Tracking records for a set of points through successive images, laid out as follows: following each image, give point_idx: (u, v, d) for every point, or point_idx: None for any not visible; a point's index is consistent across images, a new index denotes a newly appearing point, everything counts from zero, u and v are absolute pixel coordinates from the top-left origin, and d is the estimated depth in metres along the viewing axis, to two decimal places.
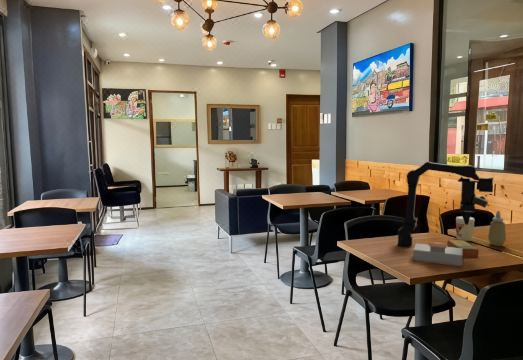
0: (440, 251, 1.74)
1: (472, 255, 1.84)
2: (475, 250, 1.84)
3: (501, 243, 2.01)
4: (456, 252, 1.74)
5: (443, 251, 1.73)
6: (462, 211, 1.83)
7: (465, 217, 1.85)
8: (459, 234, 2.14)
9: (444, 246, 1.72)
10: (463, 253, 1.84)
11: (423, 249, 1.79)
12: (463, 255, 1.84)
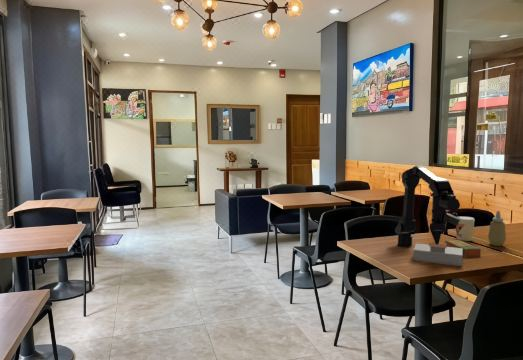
0: (440, 251, 1.74)
1: (475, 255, 1.84)
2: (477, 250, 1.84)
3: (501, 243, 2.01)
4: (456, 252, 1.74)
5: (443, 251, 1.73)
6: (432, 230, 1.68)
7: (436, 236, 1.69)
8: (459, 234, 2.14)
9: (444, 246, 1.72)
10: (467, 253, 1.84)
11: (423, 249, 1.79)
12: (467, 255, 1.84)
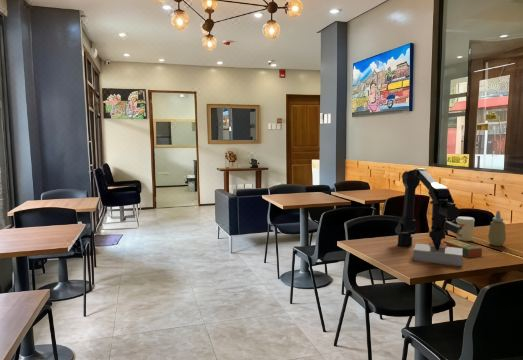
0: (440, 251, 1.74)
1: (477, 254, 1.85)
2: (479, 249, 1.85)
3: (501, 243, 2.01)
4: (456, 252, 1.74)
5: (443, 251, 1.73)
6: None
7: (436, 242, 1.73)
8: (459, 234, 2.14)
9: (444, 246, 1.72)
10: (470, 253, 1.83)
11: (423, 249, 1.79)
12: (470, 255, 1.84)
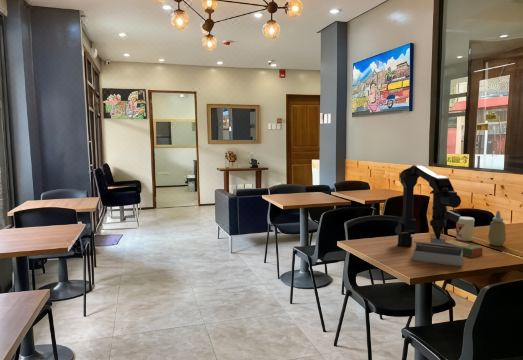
0: (440, 242, 1.74)
1: (478, 254, 1.86)
2: (480, 249, 1.86)
3: (501, 243, 2.01)
4: (456, 246, 1.74)
5: (443, 242, 1.74)
6: None
7: (436, 231, 1.74)
8: (459, 234, 2.14)
9: (445, 237, 1.74)
10: (473, 253, 1.84)
11: None
12: (473, 255, 1.84)
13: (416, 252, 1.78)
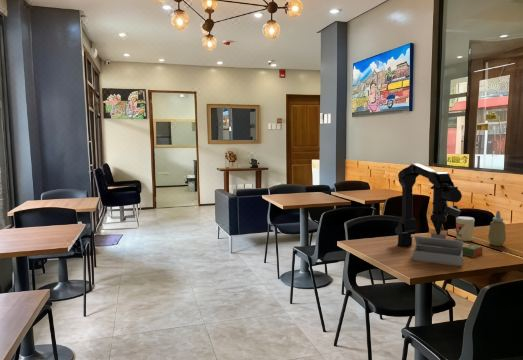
0: (441, 238, 1.75)
1: (479, 254, 1.86)
2: (481, 248, 1.87)
3: (501, 243, 2.01)
4: None
5: (444, 238, 1.75)
6: None
7: (437, 226, 1.75)
8: (459, 234, 2.14)
9: (445, 232, 1.75)
10: (475, 253, 1.84)
11: None
12: (475, 255, 1.84)
13: (416, 252, 1.78)
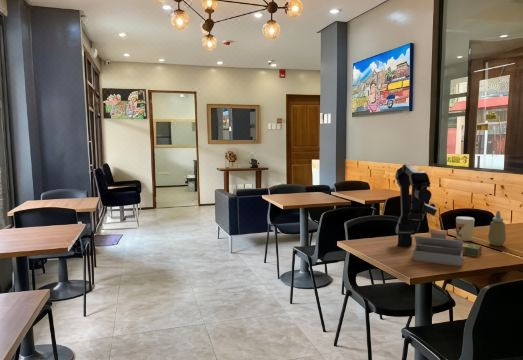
0: (441, 237, 1.75)
1: (480, 252, 1.88)
2: (480, 247, 1.89)
3: (501, 243, 2.01)
4: None
5: (444, 237, 1.75)
6: (410, 219, 1.76)
7: (414, 225, 1.78)
8: (459, 234, 2.14)
9: (445, 232, 1.75)
10: (478, 253, 1.85)
11: None
12: (478, 255, 1.85)
13: (416, 252, 1.78)
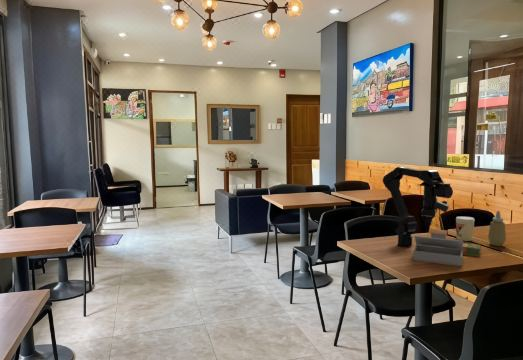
0: (441, 237, 1.75)
1: None
2: (480, 246, 1.90)
3: (501, 243, 2.01)
4: None
5: (444, 237, 1.75)
6: (423, 216, 1.84)
7: (426, 221, 1.85)
8: (459, 234, 2.14)
9: (445, 232, 1.75)
10: (479, 252, 1.85)
11: None
12: (479, 254, 1.85)
13: (416, 252, 1.78)
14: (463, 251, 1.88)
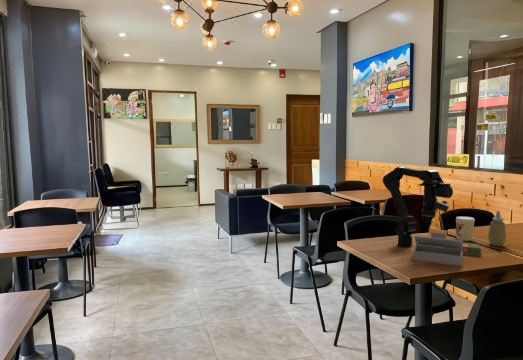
0: (441, 237, 1.75)
1: None
2: (479, 246, 1.91)
3: (501, 243, 2.01)
4: None
5: (444, 237, 1.75)
6: (423, 216, 1.84)
7: (427, 221, 1.85)
8: (459, 234, 2.14)
9: (445, 232, 1.75)
10: (480, 252, 1.86)
11: None
12: (480, 254, 1.86)
13: (416, 252, 1.78)
14: (464, 251, 1.88)
